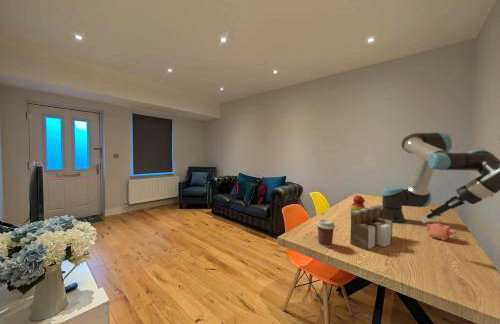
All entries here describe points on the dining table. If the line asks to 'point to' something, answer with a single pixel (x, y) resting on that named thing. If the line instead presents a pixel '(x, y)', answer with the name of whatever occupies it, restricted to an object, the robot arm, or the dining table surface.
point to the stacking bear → (357, 203)
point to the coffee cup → (325, 232)
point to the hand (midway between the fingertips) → (422, 220)
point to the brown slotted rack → (367, 217)
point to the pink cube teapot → (439, 231)
